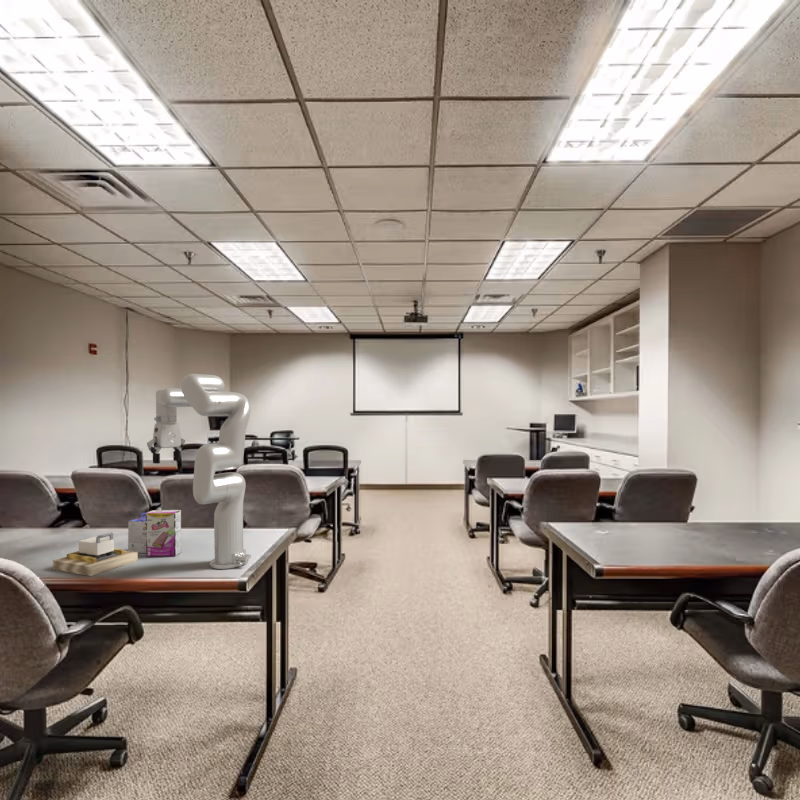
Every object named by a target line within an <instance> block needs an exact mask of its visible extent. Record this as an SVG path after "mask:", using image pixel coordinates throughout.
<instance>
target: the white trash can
mask: <svg viewBox="0 0 800 800" xmlns="http://www.w3.org/2000/svg"><path fill="white" fill-rule="evenodd" d="M108 537H109V538H108ZM114 548H115V539H114V532H106V533H103V534H100V535H97V536H92V537H88V538H86V539H82V540H78V551H79V555H82V556H86V555H87V554H92V557H94V558H97V559H98V558H100V555H101V554H104V553H106V554H107V555H111V554H113V553H114Z"/></svg>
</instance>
